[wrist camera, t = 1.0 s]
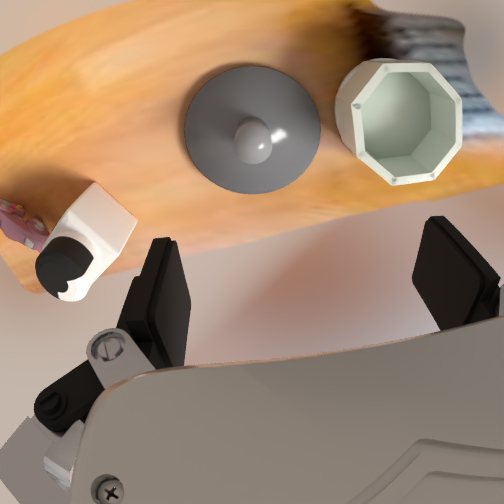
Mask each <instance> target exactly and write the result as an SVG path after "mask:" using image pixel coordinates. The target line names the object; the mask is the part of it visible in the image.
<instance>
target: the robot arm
mask: <svg viewBox="0 0 504 504" xmlns="http://www.w3.org/2000/svg"><path fill="white" fill-rule="evenodd" d="M499 281H500V276H498V274H497V273H496V272H495V270H494V269H493V268H492V267H491V266H490V265H489V263H488V262H487V261H486V260H485V259H484V258H483V257H482V255H481V254H480V253H479V252H478V251H477V250H476V249H475V248H474V247H473V246H472V245H471V243H470V242H469V241H468V240H467V239H466V238H465V237H464V236H463V235H462V234H461V233H460V232H459V231H458V230H457V229H456V228H455V227H454V226H453V225H452V224H451V223H450V222H449V221H448V220H447V219H446V218H445V217H444V216H431V217H430V218H429V219H428V220H427V221H426V222H425V225H424V230H423V234H422V239H421V243H420V247H419V251H418V255H417V259H416V263H415V267H414V271H413V275H412V282H413V284H414V286H415V288H416V289H417V291H418V293H419V294H420V296H421V298H422V299H423V301H424V303H425V304H426V306H427V308H428V309H429V311H430V313H431V314H432V316H433V318H434V320H435V321H436V323H437V325H438V327H439V329H440V330H441V331H438V332H434V333H429V334H425V335H420V336H415V337H410V338H405V339H400V340H395V341H390V342H385V343H380V344H374V345H368V346H362V347H356V348H350V349H343V350H336V351H330V352H322V353H316V354H307V355H299V356H291V357H282V358H272V359H262V360H250V361H239V362H229V363H228V362H227V363H215V364H201V365H189V366H184V359H185V351H186V342H187V333H188V326H189V318H190V310H191V299H190V295H189V291H188V287H187V283H186V279H185V275H184V271H183V267H182V263H181V259H180V255H179V250H178V246H177V242H176V241H171V239H170V237H164V238H155V239H153V241H152V244H151V247H150V249H149V252H148V255H147V257H146V260H145V263H144V266H143V268H142V271H141V274H140V276H136V277H134V279H133V280H132V283H131V286H130V289H129V291H128V294H127V297H126V300H125V303H124V306H123V308H122V311H121V314H120V317H119V320H118V323H117V327H116V328H110V329H105V330H103V331H101V332H99V333H98V334H96V335H95V336H94V337H93V338H92V339H91V340H90V342H89V343H88V346H87V350H86V354H87V357H88V360H86V361H85V362H83V363H82V364H80V365H79V366H78V367H76V368H74V369H73V370H72V371H70V372H69V373H67V374H66V375H64V376H63V377H61V378H60V379H58V380H57V381H55V382H54V383H53V384H51V385H50V386H48V387H47V388H45V389H44V390H43V391H42V392H41V393H40V394H39V395H38V397H37V398H36V401H35V403H34V413H35V414H34V416H33V417H32V418H31V419H30V418H29V417H27V418H26V419H25V420H24V421H23V422H22V424H21V425H20V426H19V427H18V428H17V430H16V431H15V432H14V433H13V435H12V436H11V437H10V438H9V439H8V440H7V442H6V443H5V444H4V446H3V447H2V448H1V449H0V479H1V480H2V482H3V483H4V484H5V485H6V487H7V488H8V489H9V491H10V492H11V493H12V494H13V496H14V497H15V498H16V499H17V500H18V502H19V503H20V504H504V284H503V285H502V286H501V288H500V287H499V286H498V283H499ZM75 457H76V459H75ZM73 465H74V469H73V474H72V481H71V484H70V480H69V473H70V470H71V468H72V467H73ZM120 481H121V482H120ZM114 487H115V488H114Z"/></svg>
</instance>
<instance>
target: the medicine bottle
mask: <svg viewBox="0 0 504 504" xmlns="http://www.w3.org/2000/svg"><path fill="white" fill-rule="evenodd" d="M137 222H138V221H137V219H136V218H135V217H134V216H133V215H132V214H131V213H130V212H128V211H127V210H126V209H125V208H124V207H123V206H122V205H121V204H120V203H118V202H117V201H116V200H115V199H114V198H113V197H112V196H111V195H110V194H108V193H107V192H106V191H105V190H104V189H103V188H102V187H101V186H100V185H99V184H98V183H96V182H93V183H92V184H91V185H90V186H89V187H88V188H87V189H86V190H85V191H84V192H83V193H82V194H81V195H80V196H79V197H78V198H77V199H76V200H75V202H74V203H73V204H72V205H71V206H70V207H69V208H68V209H67V210H66V212H65V213H64V215H63V216H62V217H61V219H60V220H59V222H58V223H57V225H56V226H55V228H54V230H53V231H52V233H51V234H50V236H49V237H48V239H47V241H46V242H45V244H44V245H43V248H42V249H43V251H42V252H41V253H40V255H39V256H38V257H37V259H36V263H35V269H36V274H37V277H38V280H39V281H40V283H41V285H42V286H43V287H44V288H45V289H46V290H47V291H48V292H49V293H50V294H51V295H53V296H54V297H56V298H58V299H60V300H64V301H78V300H80V299H82V298H83V297H84V296H85V295H86V293H87V292H88V290H89V288H90V286H91V284H92V283H93V282H94V281H95V280H96V279H97V278H98V277H99V276H100V275H101V274H102V273H103V272H104V270H105V269H106V268H107V267H108V266H109V265H110V264H111V263H112V262H113V261H114V260H115V259H116V258H117V257H118V256H119V255H120V253H121V251H122V249H123V247H124V245H125V243H126V242H127V240H128V238H129V236H130V234H131V233H132V231H133V229H134V227H135V226H136V224H137Z"/></svg>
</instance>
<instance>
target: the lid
mask: <svg viewBox="0 0 504 504" xmlns="http://www.w3.org/2000/svg"><path fill="white" fill-rule="evenodd" d="M184 133H185V141H186V146H187V149H188V152H189V155H190V157H191V159H192V160H193V162H194V164H195V165H196V167H197V168H198V169H199V171H200V172H201V173H202V174H203V175H204V176H205V177H207V178H208V179H209V180H210V181H212V182H213V183H215V184H216V185H218V186H220V187H222V188H224V189H227V190H230V191H233V192H237V193H243V194H262V193H268V192H272V191H275V190H278V189H280V188H283V187H285V186H287V185H288V184H290V183H292V182H293V181H294V180H296V179H297V178H298V177H299V176H300V175H302V174H303V172H304V171H305V170H306V169H307V168H308V166H309V165H310V163H311V162H312V160H313V158H314V156H315V154H316V152H317V149H318V146H319V140H320V120H319V116H318V112H317V109H316V107H315V104H314V102H313V101H312V99H311V97H310V96H309V94H308V93H307V92H306V90H305V89H304V88H303V87H302V86H301V85H300V84H299V83H297V82H296V81H295V80H293V79H292V78H291V77H289V76H287V75H285V74H284V73H281V72H279V71H276V70H274V69H270V68H266V67H258V66H246V67H240V68H235V69H232V70H228V71H226V72H224V73H222V74H220V75H218V76H216V77H215V78H213V79H211V80H210V81H209V82H208V83H206V84H205V85H204V86H203V87H202V88H201V89H200V90H199V92H198V93H197V94H196V96H195V97H194V99H193V100H192V102H191V104H190V106H189V109H188V112H187V115H186V120H185V130H184Z"/></svg>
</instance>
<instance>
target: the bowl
mask: <svg viewBox="0 0 504 504" xmlns="http://www.w3.org/2000/svg"><path fill="white" fill-rule="evenodd" d="M334 117H335V122H336V126H337V129H338V131H339V133H340V135H341V139H342V142H343V143H344V144H345V145H346V146H347V147H348V148H349V149H350V150H351V151H352V153H353V154H354V155H355V156H356V157H358V158H359V159H360V160H361V161H363V162H364V163H365V164H366V165H368V166H369V167H370V168H371V169H373V170H374V171H375V172H376V173H378V174H379V175H380V176H381V177H382V178H384V179H385V180H386V181H387V182H388V183H389V184H391V185H392V186H395V185H402V184H409V183H416V182H424V181H431V180H435V179H436V177H437V176H438V175H439V174H440V172H441V171H442V170H443V169H444V168H445V166H446V165H447V164H448V163H449V161H450V160H451V159H452V158H453V156H454V155H455V154H456V153H457V151H458V150H459V149H460V148H461V146H462V99H461V97H460V96H459V95H458V94H457V93H456V91H455V90H454V89H453V88H452V87H451V85H450V84H449V83H448V82H447V81H446V80H445V79H444V77H443V76H442V75H441V74H440V73H439V72H438V71H437V70H436V69H435V68H434V67H433V65H432V64H431V63H426V62H419V61H412V60H396V59H390V58H376V59H371V60H367V61H363V62H362V63H360V64H359V65H357V66H355V67H354V68H353V69H352V70H351V71H349V73H348V74H347V75H346V76H345V77H344V79H343V80H342V82H341V84H340V86H339V88H338V90H337V93H336V97H335V102H334Z"/></svg>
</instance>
